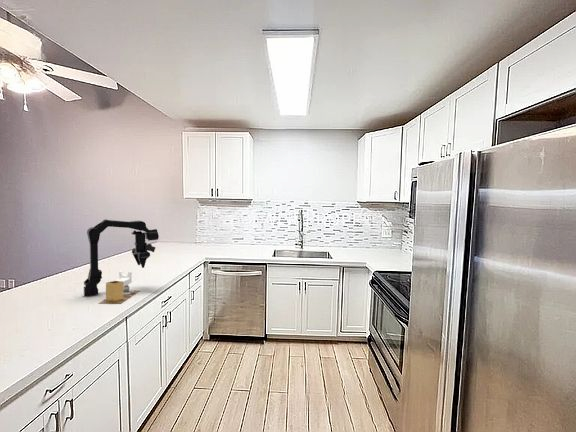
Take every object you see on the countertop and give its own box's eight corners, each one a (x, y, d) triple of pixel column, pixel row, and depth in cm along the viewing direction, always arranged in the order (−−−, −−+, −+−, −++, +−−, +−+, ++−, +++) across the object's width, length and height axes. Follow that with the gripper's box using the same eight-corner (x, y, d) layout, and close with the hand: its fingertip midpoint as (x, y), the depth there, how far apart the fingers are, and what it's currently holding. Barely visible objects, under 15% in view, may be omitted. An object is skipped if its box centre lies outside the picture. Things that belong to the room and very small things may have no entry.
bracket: (121, 282, 235) (120, 271, 234) (131, 282, 235) (131, 271, 234) (111, 287, 222) (111, 275, 221) (122, 287, 222) (122, 275, 221)
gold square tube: (113, 302, 185) (113, 284, 185) (106, 301, 188) (105, 282, 188) (123, 299, 191) (123, 281, 190) (115, 298, 193) (115, 280, 193)
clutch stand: (121, 306, 184) (120, 295, 183) (97, 306, 183) (97, 295, 183) (140, 293, 210) (140, 283, 209) (120, 292, 209) (120, 282, 209)
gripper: (158, 241, 211) (159, 267, 212) (149, 238, 226) (150, 262, 227) (139, 243, 204) (139, 269, 205) (131, 239, 219) (131, 264, 220)
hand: (141, 266), depth 215 cm, fingers open, 9 cm apart
